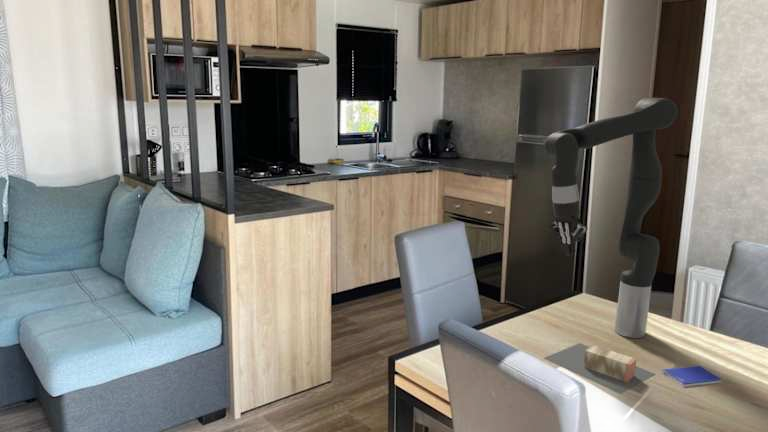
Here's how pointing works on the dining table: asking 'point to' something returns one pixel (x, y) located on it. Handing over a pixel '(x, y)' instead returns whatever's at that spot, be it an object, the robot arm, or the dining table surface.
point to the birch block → (610, 363)
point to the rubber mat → (575, 363)
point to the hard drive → (691, 376)
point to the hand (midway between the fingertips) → (570, 254)
